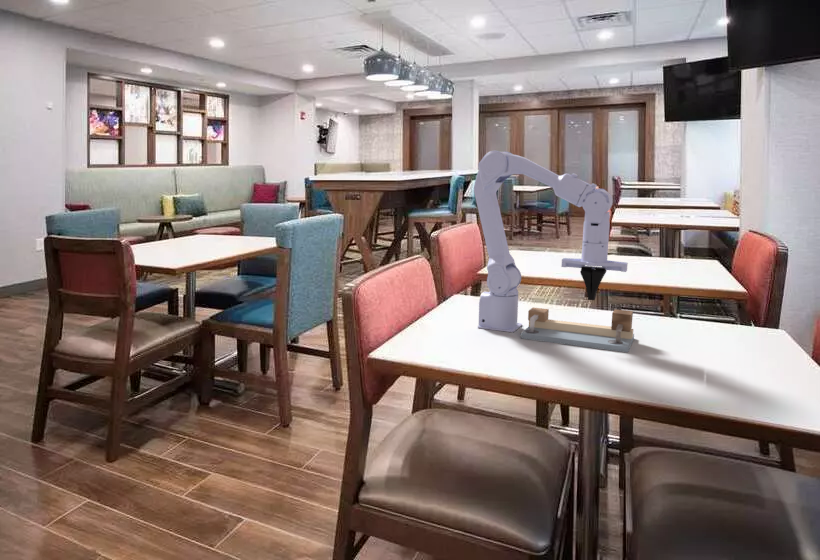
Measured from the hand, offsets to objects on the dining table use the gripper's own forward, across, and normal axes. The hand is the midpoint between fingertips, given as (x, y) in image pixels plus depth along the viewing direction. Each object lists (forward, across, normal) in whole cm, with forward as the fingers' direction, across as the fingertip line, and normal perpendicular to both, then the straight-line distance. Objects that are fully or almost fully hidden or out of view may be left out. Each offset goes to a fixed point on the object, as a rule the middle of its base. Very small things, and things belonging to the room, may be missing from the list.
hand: (591, 299), depth 135 cm
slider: (+8, +7, -2) cm, 11 cm away
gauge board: (+9, -2, -2) cm, 10 cm away
